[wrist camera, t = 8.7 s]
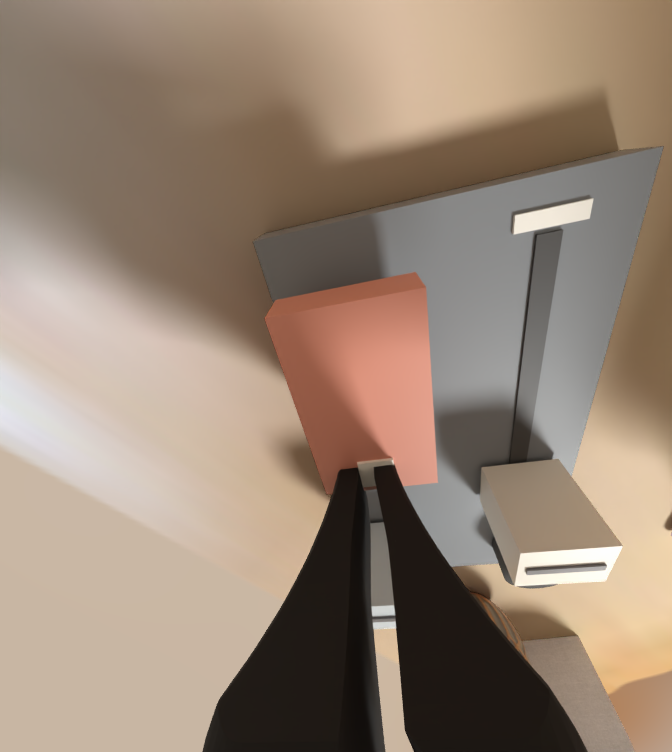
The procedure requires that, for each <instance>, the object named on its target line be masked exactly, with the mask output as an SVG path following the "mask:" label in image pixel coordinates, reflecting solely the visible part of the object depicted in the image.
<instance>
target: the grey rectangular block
mask: <svg viewBox="0 0 672 752" xmlns="http://www.w3.org/2000/svg"><path fill="white" fill-rule="evenodd" d="M522 642H523V644H524V647H525V649H526V652H527V654H528V657H529V659H530V662H531V665H532V667H533V668H534V670H535V671H536V672H537V673H538V674H539V675H540V676H541V677H542V678H543V680H544V681H545V682H546V683H547V684H548V685H549V687H550V688H551V690H552V691H553V693H554V695H555V696H556V698H557V699H558V701H559V702H560V704H561V705H562V707H563V708H564V710H565V711H566V713H567V715H568V716H569V718H570V719H571V721H572V723H573V724H574V726H575V728H576V730H577V731H578V733H579V735H580V737H581V739H582V741H583V743H584V745H585V747H586V749H587V751H588V752H635V750H634V748H633V746H632V744H631V741H630V739H629V737H628V735H627V733H626V731H625V729H624V727H623V725H622V723H621V721H620V719H619V717H618V715H617V713H616V711H615V709H614V707H613V705H612V703H611V701H610V699H609V697H608V695H607V693H606V691H605V689H604V687H603V685H602V683H601V681H600V679H599V677H598V675H597V673H596V671H595V669H594V667H593V665H592V663H591V661H590V658H589V656H588V654H587V652H586V650H585V648H584V646H583V644H582V642H581V640H580V638H579V636H578V635H577V636H567V637H557V638H548V639H538V640H528V641H522Z"/></svg>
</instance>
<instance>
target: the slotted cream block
mask: <svg viewBox="0 0 672 752" xmlns="http://www.w3.org/2000/svg"><path fill="white" fill-rule="evenodd" d="M480 502H481V505H482V507H483V510H484V512H485V515H486V517H487V520H488V522H489V525H490V527H491V530H492V532H493V535H494V537H495V540H496V542H497V545H498V547H499V549H500V552H501V554H502V557H503V559H504V562H505V564H506V567H507V569H508V572H509V574H510V577H511V579H512V582H513V584H514V586H531V585H548V584H565V583H583V582H600V581H606V579H607V577H608V575H609V573H610V571H611V569H612V567H613V565H614V563H615V561H616V559H617V557H618V555H619V553H620V551H621V549H622V547H623V546H622V544H621V543H620V541H619V540H618V539H617V537H616V536H615V535H614V533H613V532H612V531H611V529H610V528H609V527H608V525H607V524H606V523H605V521H604V520H603V518H602V517H601V516H600V514H599V513H598V512H597V510H596V509H595V508H594V506H593V505H592V504H591V502H590V501H589V500H588V498H587V497H586V495H585V494H584V493H583V491H582V490H581V489H580V487H579V486H578V485H577V483H576V482H575V481H574V479H573V478H572V477H571V475H570V474H569V473H568V471H567V470H566V468H565V467H564V466H563V464H562V463H561V462H560V460H559V459H552V460H543V461H534V462H525V463H516V464H507V465H498V466H489V467H481V486H480Z"/></svg>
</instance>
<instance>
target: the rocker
mask: <svg viewBox="0 0 672 752" xmlns="http://www.w3.org/2000/svg"><path fill="white" fill-rule="evenodd" d="M264 319H265V322H266V325H267V327H268V330H269V333H270V336H271V339H272V342H273V344H274V347H275V350H276V353H277V356H278V358H279V361H280V364H281V367H282V370H283V373H284V375H285V378H286V381H287V384H288V387H289V390H290V392H291V395H292V398H293V401H294V404H295V407H296V409H297V412H298V415H299V418H300V421H301V424H302V426H303V429H304V432H305V435H306V438H307V440H308V443H309V446H310V449H311V452H312V455H313V457H314V460H315V463H316V466H317V469H318V472H319V474H320V477H321V480H322V483H323V486H324V489H325V491H326V494H332V493H333V490H334V486H335V483H336V479H337V475H338V472H339V471H340V470H341V469H349V468H357V467H358V470H359V474H360V477H361V481H362V485H363V488H364V490H374V489H377V488H376V484H375V479H374V467H378V466H385V465H395V467H396V470H397V473H398V475H399V478H400V480H401V483H402V485H403V486H412V485H421V484H431V483H438V476H437V459H436V443H435V426H434V409H433V393H432V376H431V359H430V343H429V326H428V309H427V293H426V286H425V285H424V283H423V282H422V280H421V279H420V278H419V276H418V275H417V273H416V272H412V273H407V274H402V275H397V276H392V277H388V278H383V279H378V280H373V281H368V282H363V283H358V284H353V285H348V286H343V287H338V288H333V289H328V290H323V291H318V292H313V293H308V294H303V295H298V296H293V297H288V298H283V299H278V300H275V302H274V303H273V305H272V307H271V308H270V310H269V312H268V313H267V315H266V317H265V318H264Z"/></svg>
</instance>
